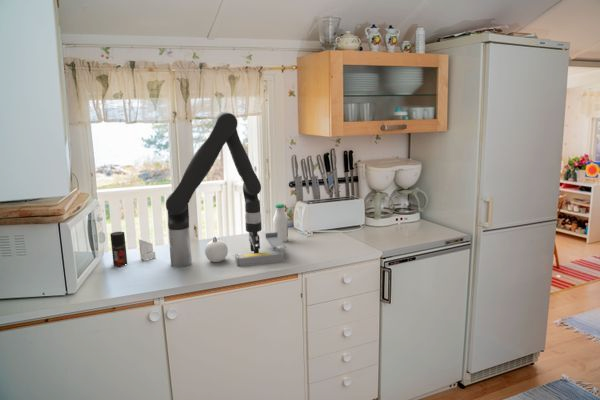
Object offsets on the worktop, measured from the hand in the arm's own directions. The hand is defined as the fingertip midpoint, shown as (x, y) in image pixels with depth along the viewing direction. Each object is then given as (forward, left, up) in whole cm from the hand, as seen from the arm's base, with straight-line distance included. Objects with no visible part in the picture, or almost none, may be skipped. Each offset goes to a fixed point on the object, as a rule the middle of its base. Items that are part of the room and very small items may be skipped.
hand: (254, 253), depth 217 cm
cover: (+11, +1, +3) cm, 11 cm away
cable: (0, -8, -1) cm, 8 cm away
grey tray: (+1, -4, -1) cm, 5 cm away
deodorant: (-61, +9, -2) cm, 62 cm away
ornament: (-18, -1, -2) cm, 18 cm away
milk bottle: (+18, +21, -2) cm, 28 cm away
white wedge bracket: (-49, +14, -2) cm, 51 cm away
